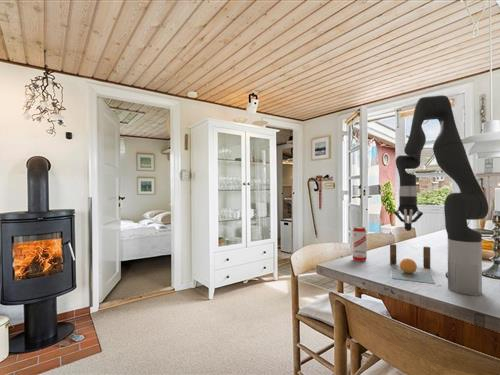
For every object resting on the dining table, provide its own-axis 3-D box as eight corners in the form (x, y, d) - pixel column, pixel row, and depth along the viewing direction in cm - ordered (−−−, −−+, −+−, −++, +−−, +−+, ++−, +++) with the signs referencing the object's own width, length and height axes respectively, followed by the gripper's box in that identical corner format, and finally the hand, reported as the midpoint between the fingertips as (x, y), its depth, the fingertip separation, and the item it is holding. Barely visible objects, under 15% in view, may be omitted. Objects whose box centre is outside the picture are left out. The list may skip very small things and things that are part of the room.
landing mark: (435, 284, 101) (435, 283, 101) (391, 278, 107) (391, 278, 107) (430, 273, 113) (430, 273, 113) (392, 269, 120) (392, 268, 120)
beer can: (367, 262, 131) (367, 228, 131) (353, 261, 132) (353, 228, 132) (365, 259, 137) (364, 226, 137) (351, 258, 138) (351, 226, 138)
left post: (396, 265, 126) (396, 245, 126) (390, 264, 127) (389, 244, 127) (396, 263, 128) (396, 244, 128) (390, 263, 129) (389, 243, 129)
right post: (430, 268, 120) (430, 248, 120) (423, 268, 121) (423, 247, 121) (430, 267, 122) (429, 246, 122) (423, 266, 123) (423, 246, 123)
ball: (416, 258, 115) (417, 272, 115) (400, 256, 118) (400, 271, 118) (416, 260, 110) (416, 276, 110) (399, 259, 113) (399, 274, 113)
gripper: (392, 195, 136) (392, 230, 136) (424, 195, 130) (424, 232, 130) (392, 195, 143) (392, 228, 143) (423, 195, 137) (423, 230, 137)
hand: (408, 230), depth 136 cm, fingers closed
